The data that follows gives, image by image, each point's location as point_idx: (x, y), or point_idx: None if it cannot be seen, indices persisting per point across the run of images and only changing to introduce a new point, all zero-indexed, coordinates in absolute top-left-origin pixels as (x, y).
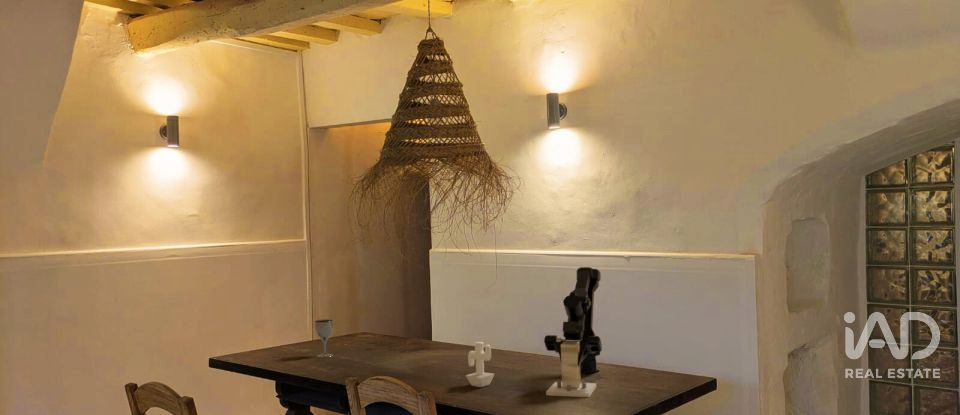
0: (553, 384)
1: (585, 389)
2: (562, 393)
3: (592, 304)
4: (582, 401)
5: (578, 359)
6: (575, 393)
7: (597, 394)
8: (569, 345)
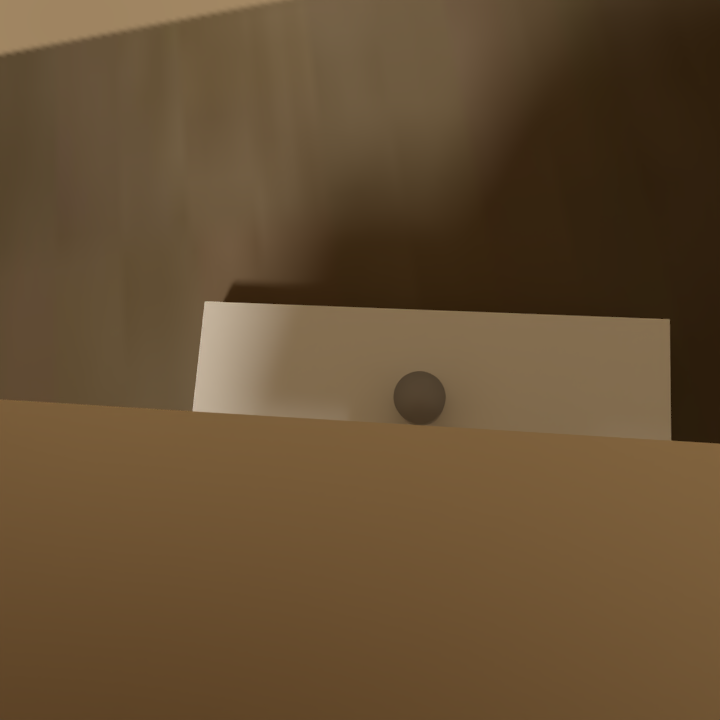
0: None
1: None
2: (478, 314)
3: None
4: (264, 156)
5: None
6: (340, 307)
7: None
8: (277, 418)
